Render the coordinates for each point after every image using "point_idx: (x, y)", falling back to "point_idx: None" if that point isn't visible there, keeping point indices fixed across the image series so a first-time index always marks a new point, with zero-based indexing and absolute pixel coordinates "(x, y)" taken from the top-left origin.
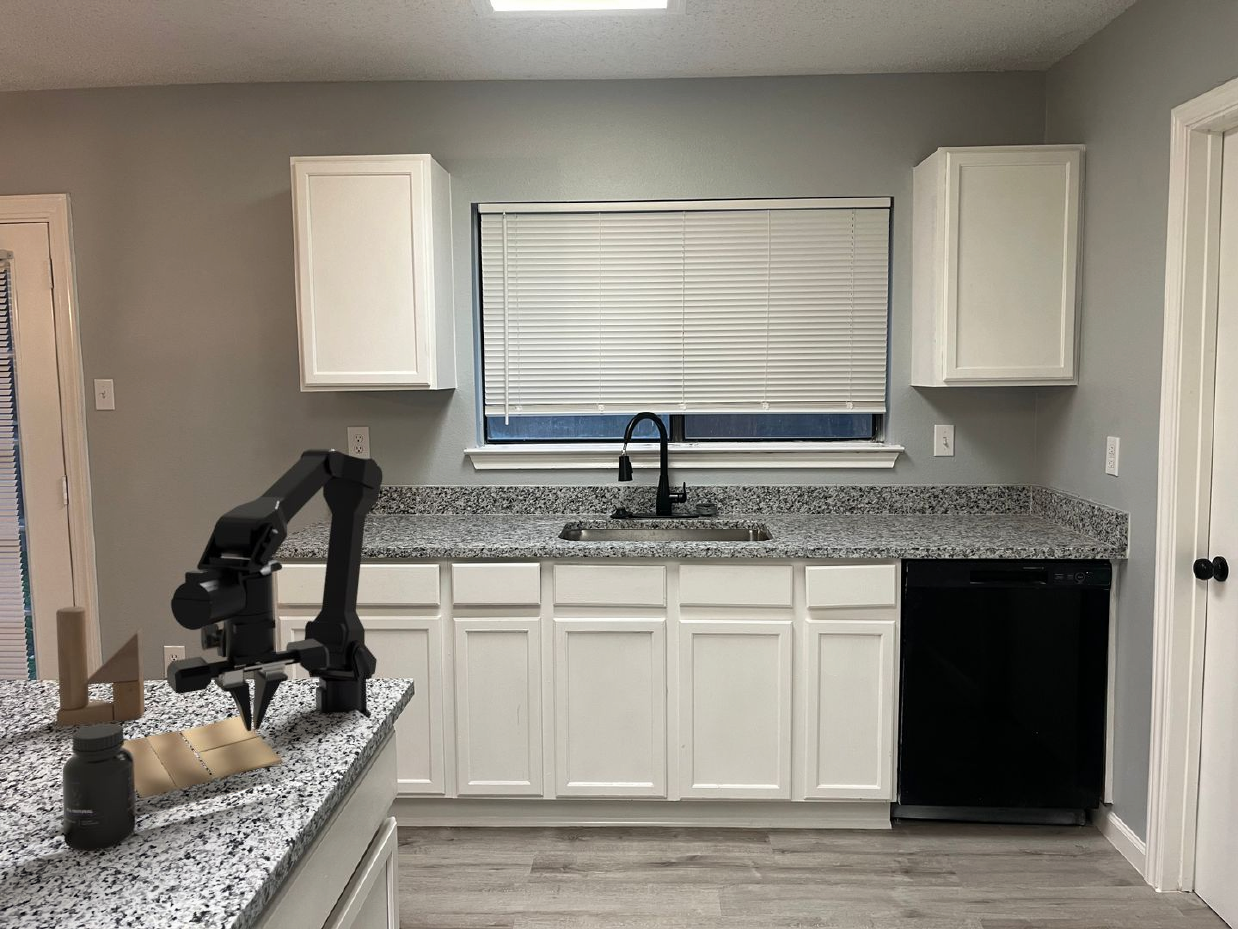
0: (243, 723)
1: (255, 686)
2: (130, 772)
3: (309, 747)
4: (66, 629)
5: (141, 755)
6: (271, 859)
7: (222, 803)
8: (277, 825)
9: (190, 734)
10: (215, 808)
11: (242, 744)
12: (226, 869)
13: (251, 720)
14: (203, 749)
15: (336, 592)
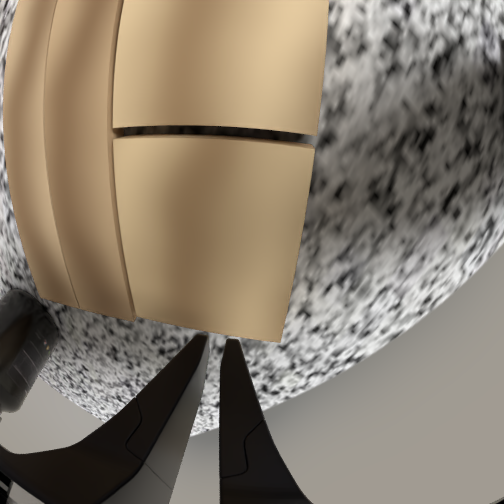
0: (185, 346)
1: (220, 490)
2: (24, 399)
3: (410, 221)
4: None
5: (25, 82)
6: None
7: (152, 345)
8: (207, 414)
9: None
10: (142, 350)
11: (239, 169)
12: None
13: (200, 397)
14: (131, 115)
15: None
